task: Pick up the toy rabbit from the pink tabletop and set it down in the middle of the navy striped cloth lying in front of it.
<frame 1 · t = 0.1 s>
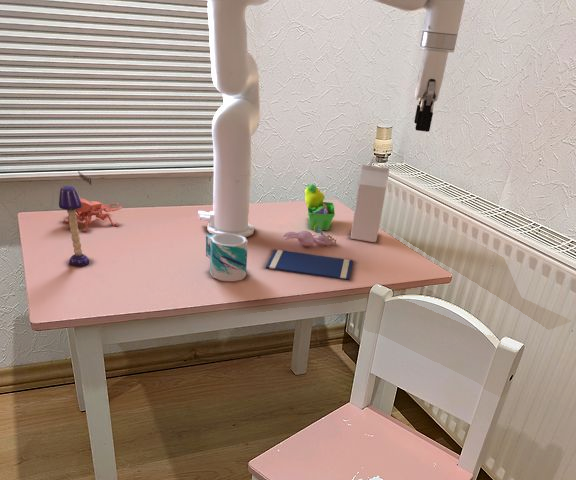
hand: (421, 127, 135), 31 cm above the table, tool pointing down, fingers open, 9 cm apart
fruit basket: (316, 225, 167), on the table
rabbit figure: (308, 246, 152), on the table
mug: (223, 271, 133), on the table
beetle: (94, 223, 152), on the table
toy lamp: (78, 263, 130), on the table
milk carton: (364, 237, 161), on the table
cloth: (310, 264, 141), on the table
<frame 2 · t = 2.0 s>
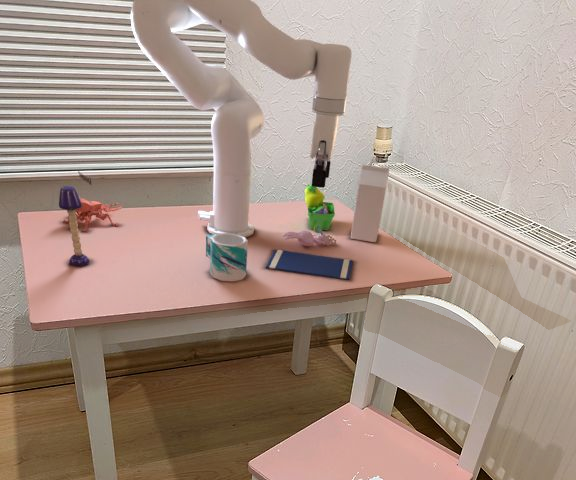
hand: (320, 181, 142), 17 cm above the table, tool pointing down, fingers open, 9 cm apart
nothing on the table moved.
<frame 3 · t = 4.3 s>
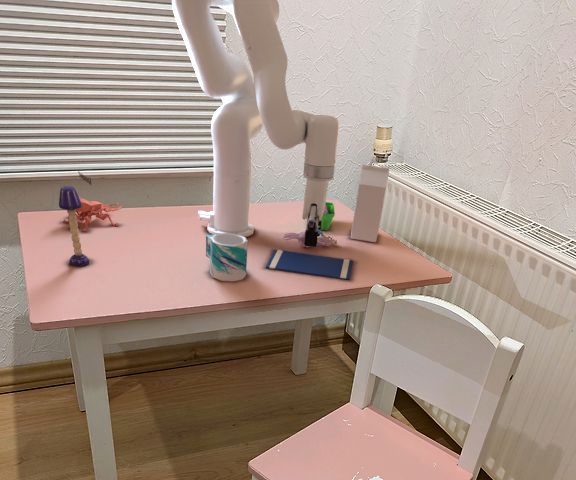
hand: (312, 240, 151), 2 cm above the table, tool pointing down, fingers closed on rabbit figure, 7 cm apart
rabbit figure: (309, 247, 151), on the table, touching gripper
everything else where it was.
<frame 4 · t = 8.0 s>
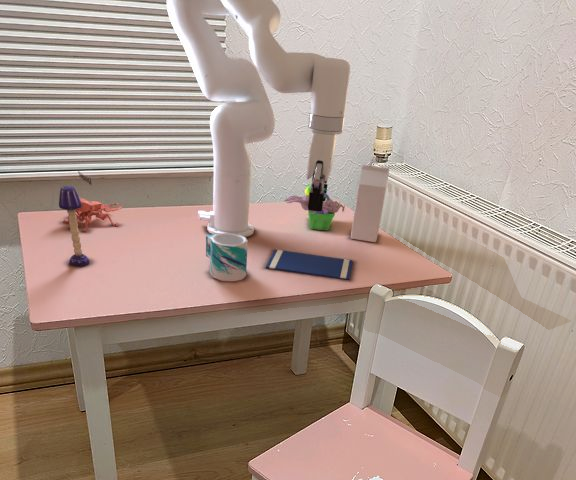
hand: (316, 205, 134), 14 cm above the table, tool pointing down, fingers closed on rabbit figure, 7 cm apart
rabbit figure: (313, 213, 134), point 12 cm above the table, touching gripper
everything else where it was.
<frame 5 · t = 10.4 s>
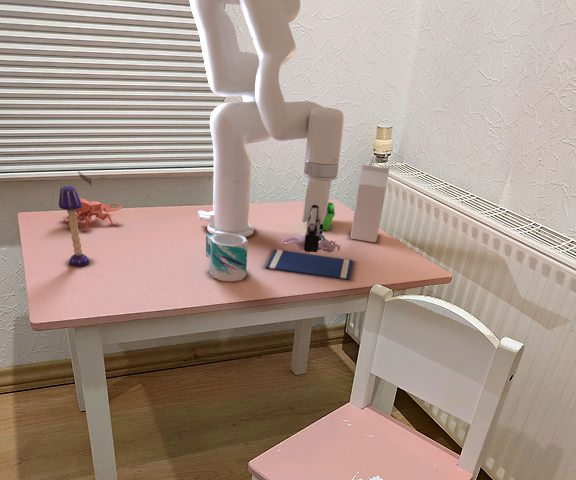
hand: (312, 245, 138), 5 cm above the table, tool pointing down, fingers closed on rabbit figure, 7 cm apart
rabbit figure: (309, 253, 138), point 3 cm above the table, touching gripper
everything else where it was.
when the fingers open (2 cm above the table, at t = 11.9 s): rabbit figure stays where it is, resting on cloth.
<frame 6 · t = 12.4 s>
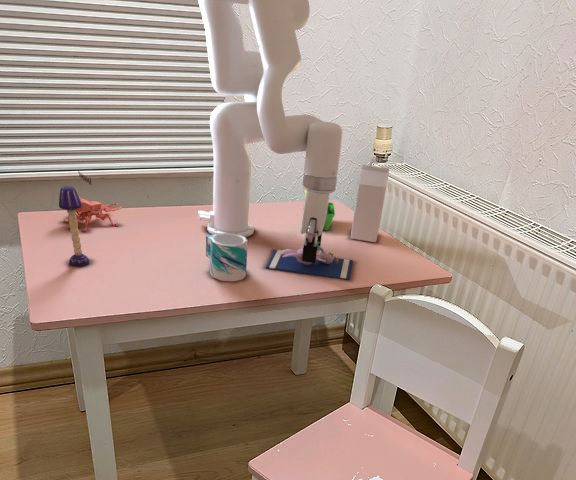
hand: (311, 254, 139), 3 cm above the table, tool pointing down, fingers open, 9 cm apart
rabbit figure: (308, 264, 140), resting on cloth
everything else where it was.
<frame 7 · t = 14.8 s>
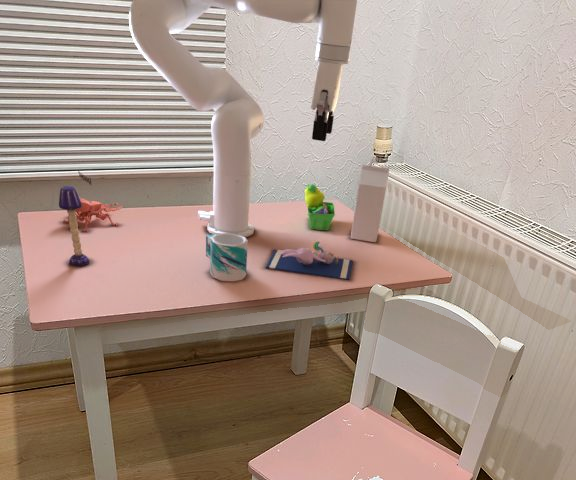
hand: (321, 136, 137), 27 cm above the table, tool pointing down, fingers open, 9 cm apart
nothing on the table moved.
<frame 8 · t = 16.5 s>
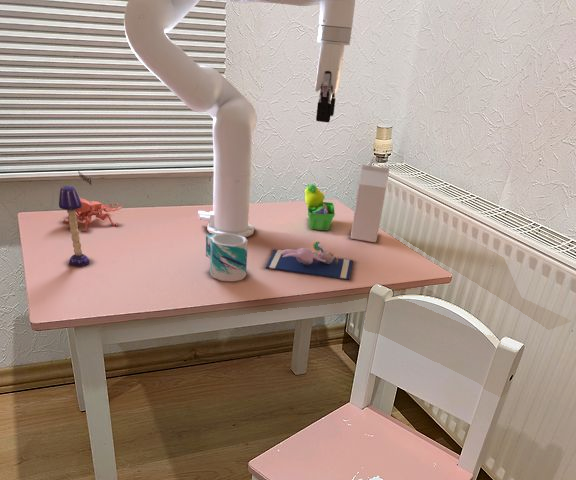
hand: (324, 118, 139), 30 cm above the table, tool pointing down, fingers open, 9 cm apart
nothing on the table moved.
at the end: rabbit figure inside the target area on the cloth (0.9 cm from its centre), point 0.2 cm above the cloth's base; the gripper is holding nothing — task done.
